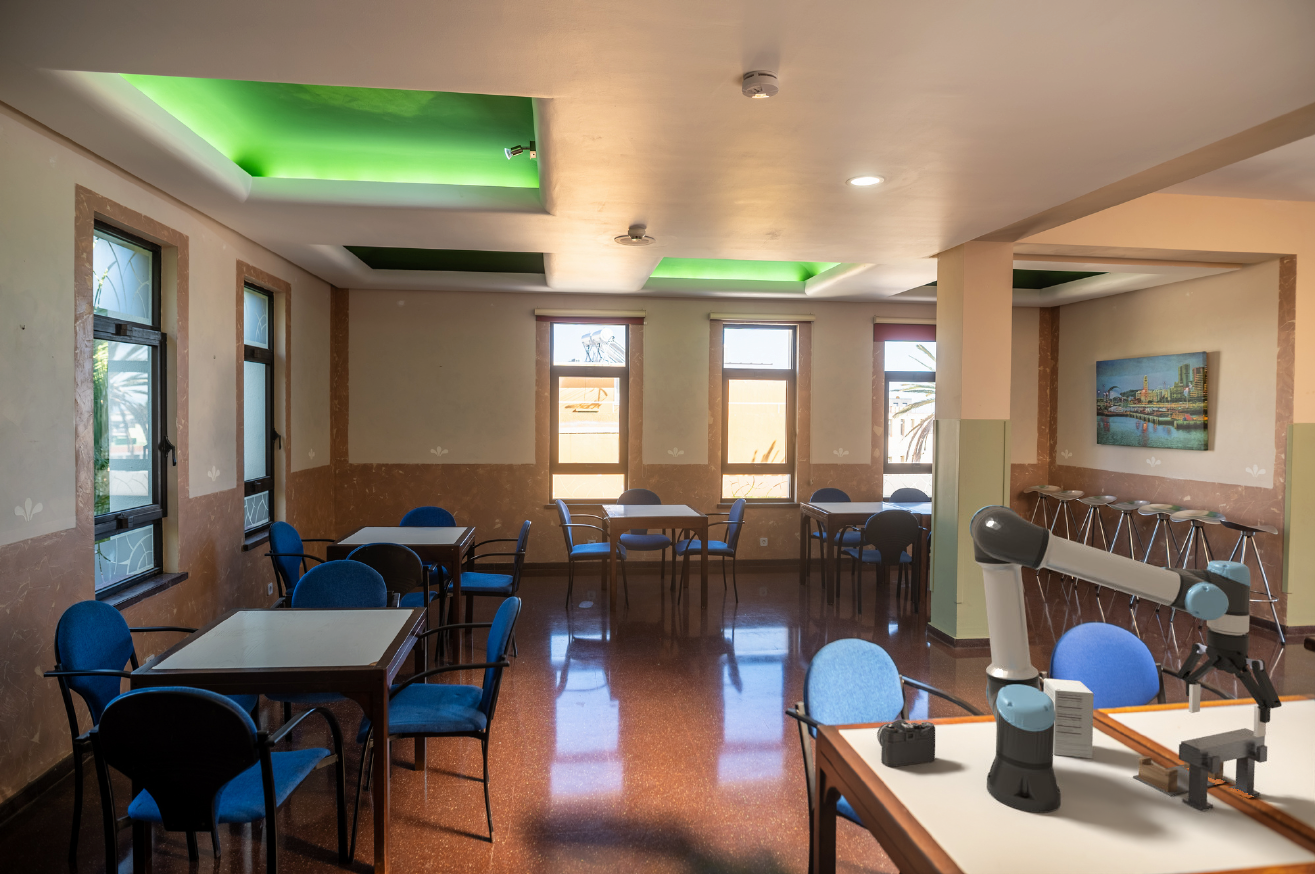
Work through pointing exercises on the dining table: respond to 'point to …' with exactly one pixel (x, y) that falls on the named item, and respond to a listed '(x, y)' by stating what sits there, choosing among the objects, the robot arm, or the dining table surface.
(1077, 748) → the supplement box
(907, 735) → the camera
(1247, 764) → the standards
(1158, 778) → the bench rests
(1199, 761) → the rail
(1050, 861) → the dining table surface
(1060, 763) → the dining table surface
